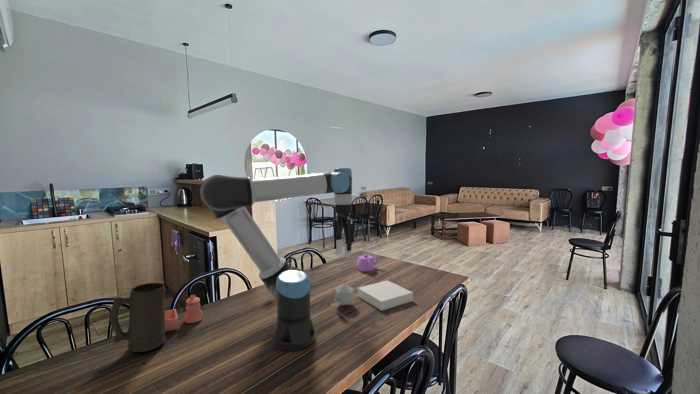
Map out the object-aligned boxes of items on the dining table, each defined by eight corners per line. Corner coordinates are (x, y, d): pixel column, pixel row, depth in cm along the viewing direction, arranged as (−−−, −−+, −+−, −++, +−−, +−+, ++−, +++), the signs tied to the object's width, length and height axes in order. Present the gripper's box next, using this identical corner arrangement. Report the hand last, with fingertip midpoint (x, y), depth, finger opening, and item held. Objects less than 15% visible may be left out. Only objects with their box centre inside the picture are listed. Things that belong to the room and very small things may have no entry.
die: (332, 303, 132) (331, 281, 132) (350, 300, 135) (350, 278, 135) (337, 311, 124) (337, 288, 124) (357, 308, 127) (357, 285, 127)
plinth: (381, 310, 125) (381, 301, 124) (357, 296, 140) (357, 287, 140) (412, 300, 134) (412, 292, 134) (387, 288, 149) (387, 280, 149)
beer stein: (161, 332, 109) (158, 279, 107) (173, 342, 102) (170, 285, 101) (108, 351, 97) (104, 292, 95) (118, 364, 90) (114, 301, 89)
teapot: (360, 275, 169) (360, 258, 168) (354, 268, 182) (354, 252, 181) (385, 273, 172) (385, 256, 171) (377, 266, 185) (377, 251, 184)
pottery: (148, 336, 105) (147, 308, 105) (148, 325, 113) (147, 300, 112) (204, 322, 115) (203, 297, 115) (200, 313, 123) (200, 290, 123)
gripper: (363, 205, 121) (363, 259, 123) (339, 201, 138) (339, 249, 140) (347, 206, 117) (348, 262, 119) (325, 202, 134) (325, 252, 136)
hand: (343, 255), depth 129 cm, fingers open, 7 cm apart
